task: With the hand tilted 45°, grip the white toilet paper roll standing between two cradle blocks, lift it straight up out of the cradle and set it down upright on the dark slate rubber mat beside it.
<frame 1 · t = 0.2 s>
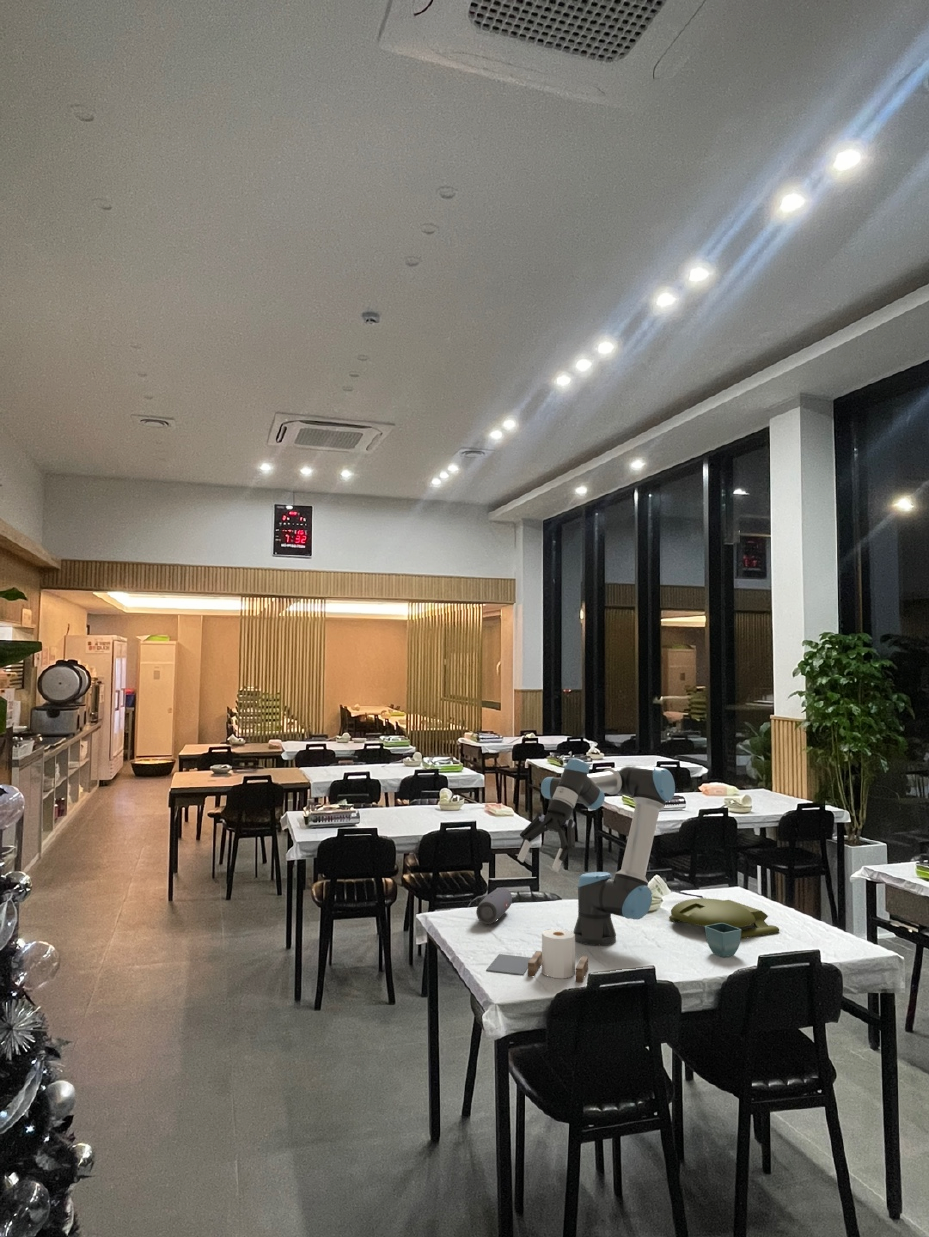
hand: (537, 865, 252), 35 cm above the table, tool tilted 35°, fingers open, 13 cm apart
toilet paper: (558, 973, 257), on the table
cradle: (558, 972, 257), on the table
spaceship: (717, 928, 308), on the table
bluetooth speaker: (494, 919, 315), on the table
flower pot: (723, 955, 276), on the table
mat: (510, 964, 263), on the table
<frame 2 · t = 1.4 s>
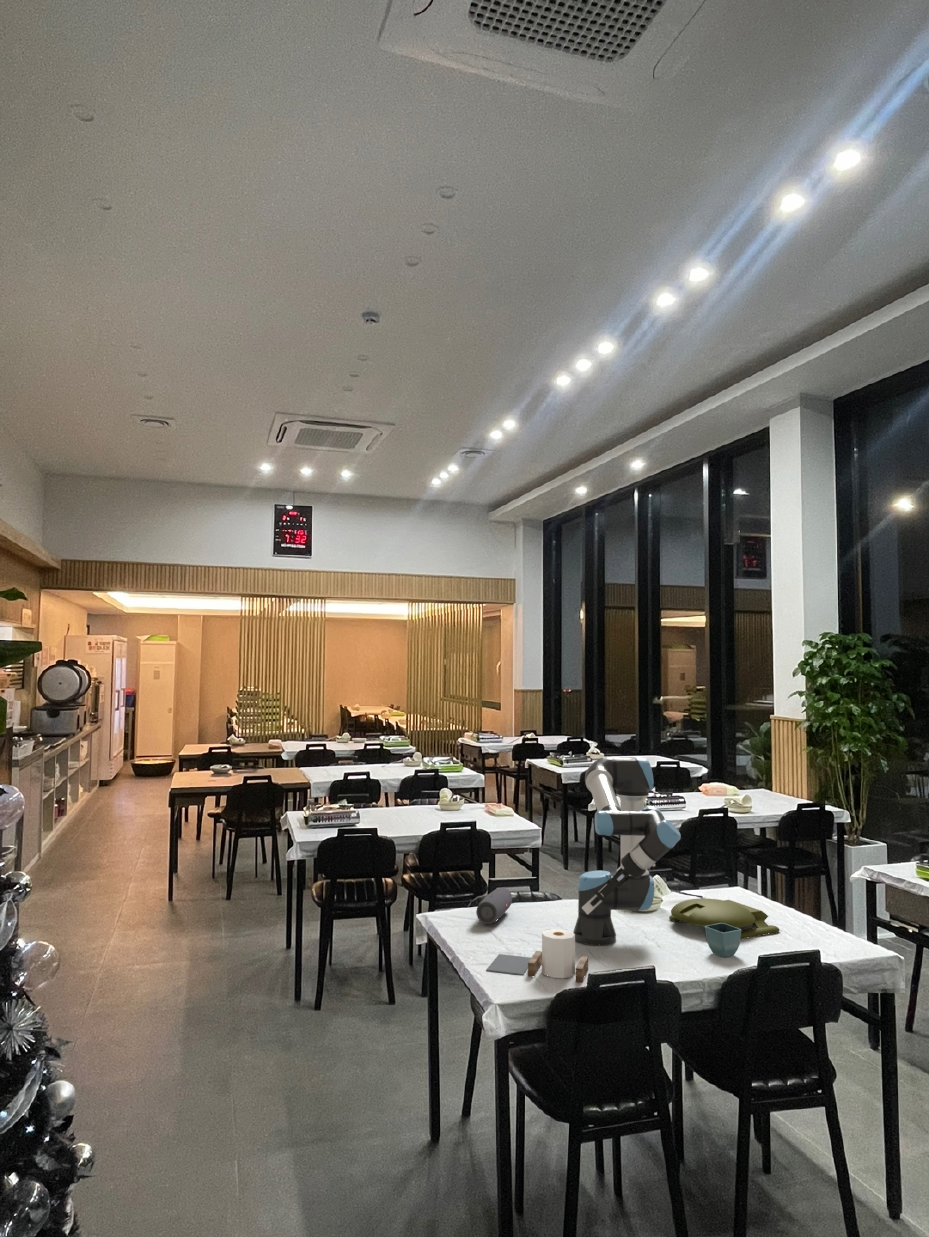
hand: (590, 905, 255), 22 cm above the table, tool tilted 45°, fingers open, 13 cm apart
nothing on the table moved.
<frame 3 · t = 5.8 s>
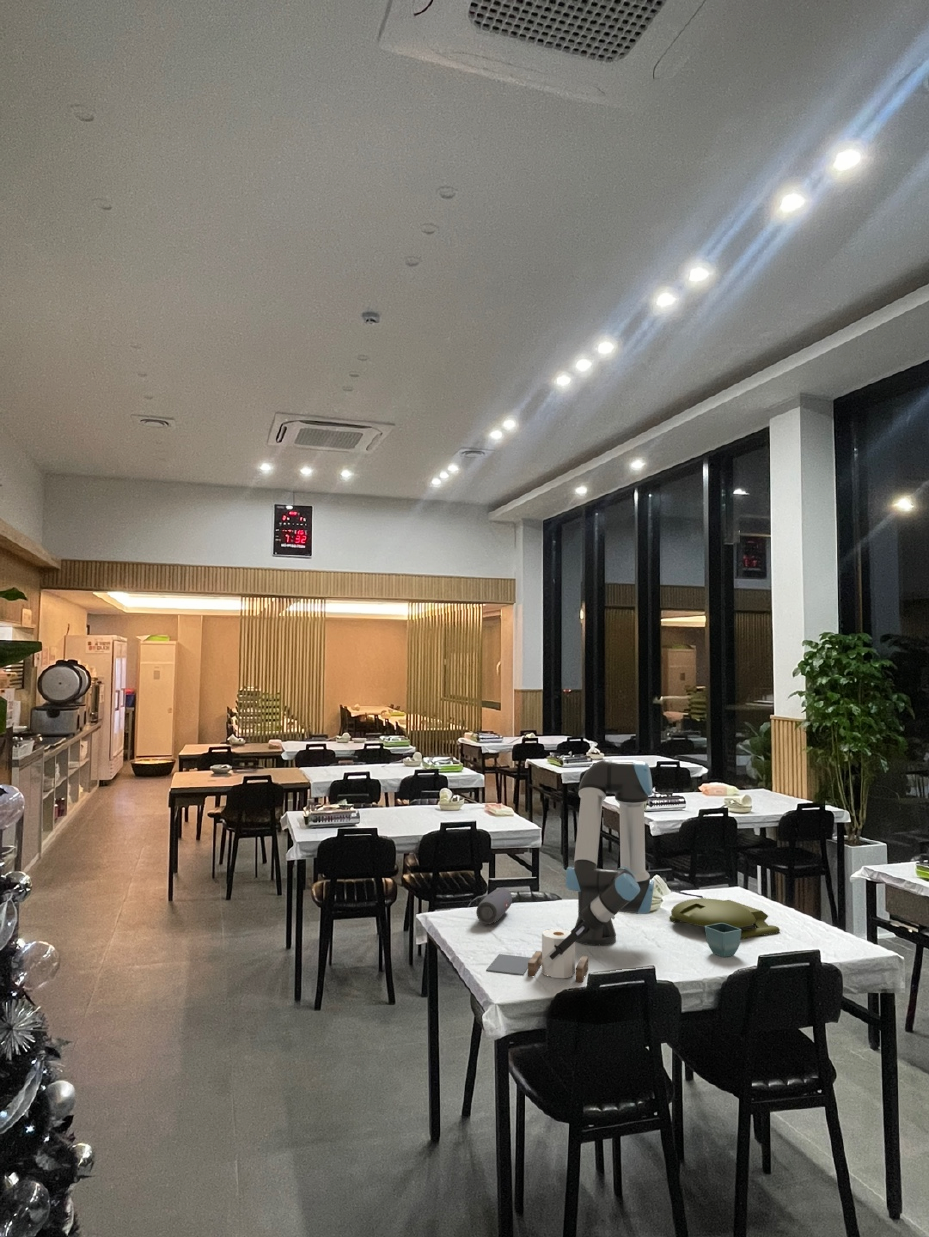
hand: (549, 958, 258), 4 cm above the table, tool tilted 45°, fingers closed on toilet paper, 10 cm apart
toilet paper: (558, 973, 257), on the table, touching gripper
everything else where it was.
when the fingers open (6 cm above the table, at t = 11.1 s): toilet paper drops 1 cm, resting on mat.
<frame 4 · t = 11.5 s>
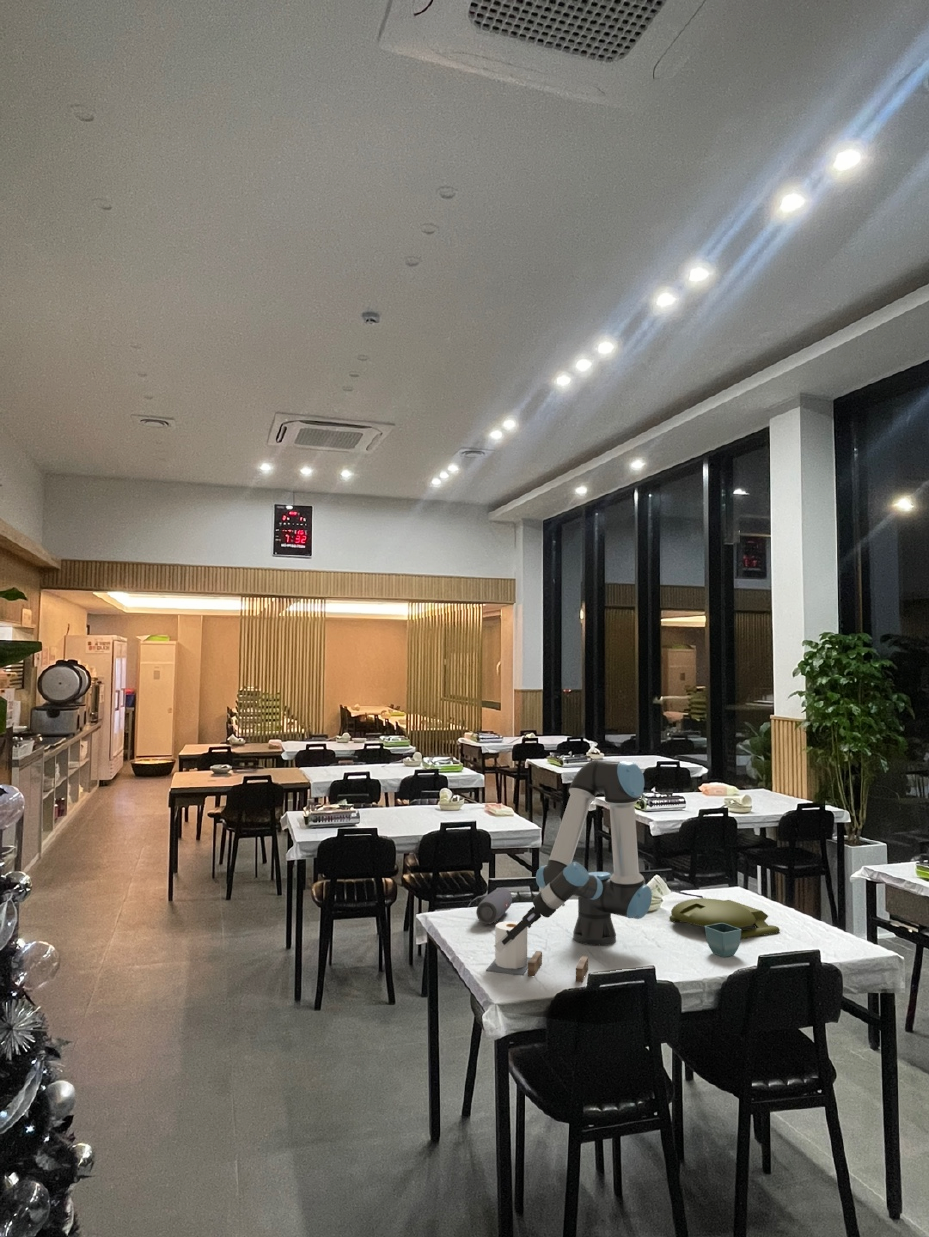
hand: (504, 942, 265), 7 cm above the table, tool tilted 45°, fingers open, 13 cm apart
toilet paper: (511, 964, 263), resting on mat
everything else where it was.
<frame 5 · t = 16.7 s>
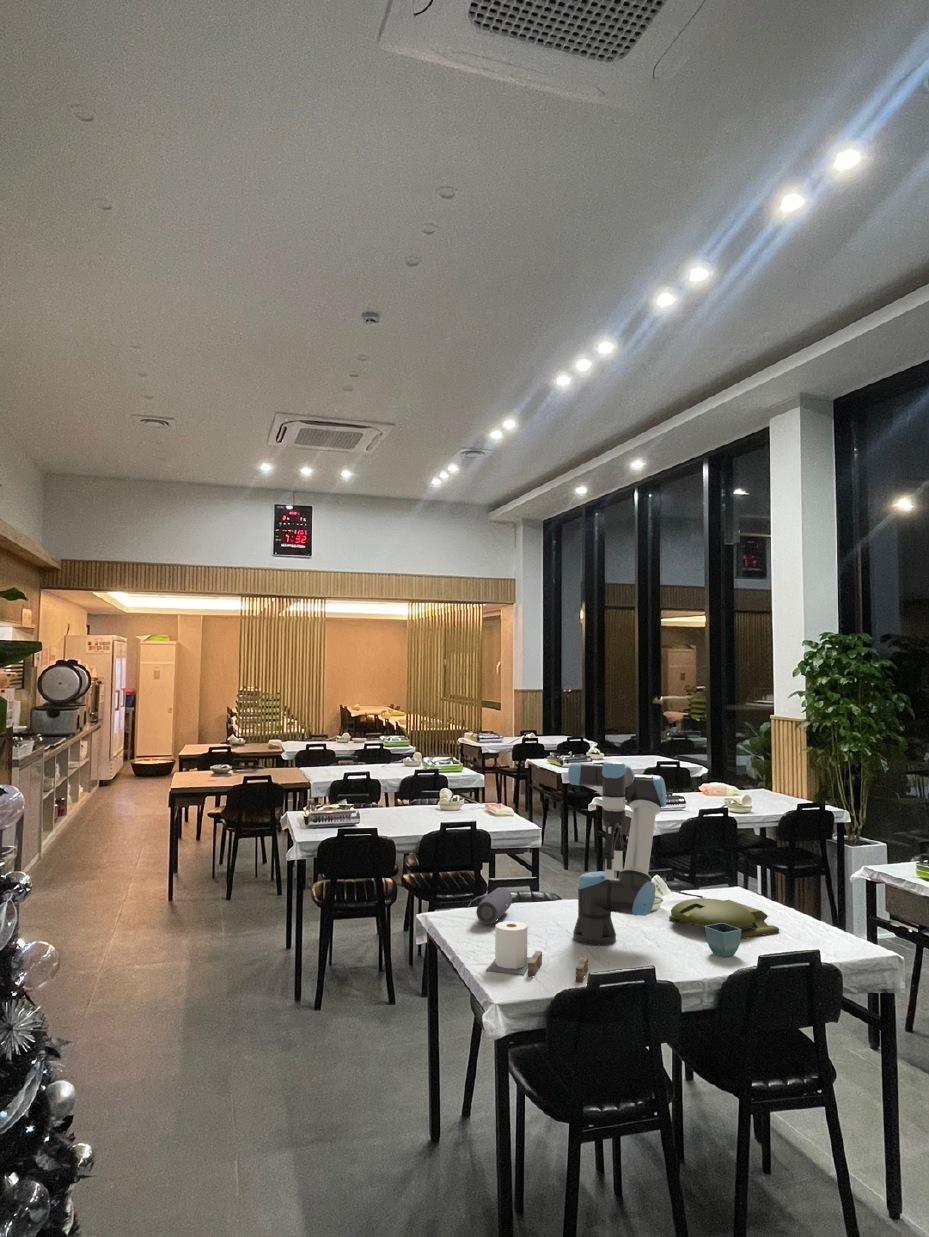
hand: (614, 874, 267), 29 cm above the table, tool pointing down, fingers open, 13 cm apart
nothing on the table moved.
at the end: toilet paper inside the target area on the mat (0.1 cm from its centre), point 0.2 cm above the mat's base; toilet paper tilted 0°; the gripper is holding nothing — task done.
